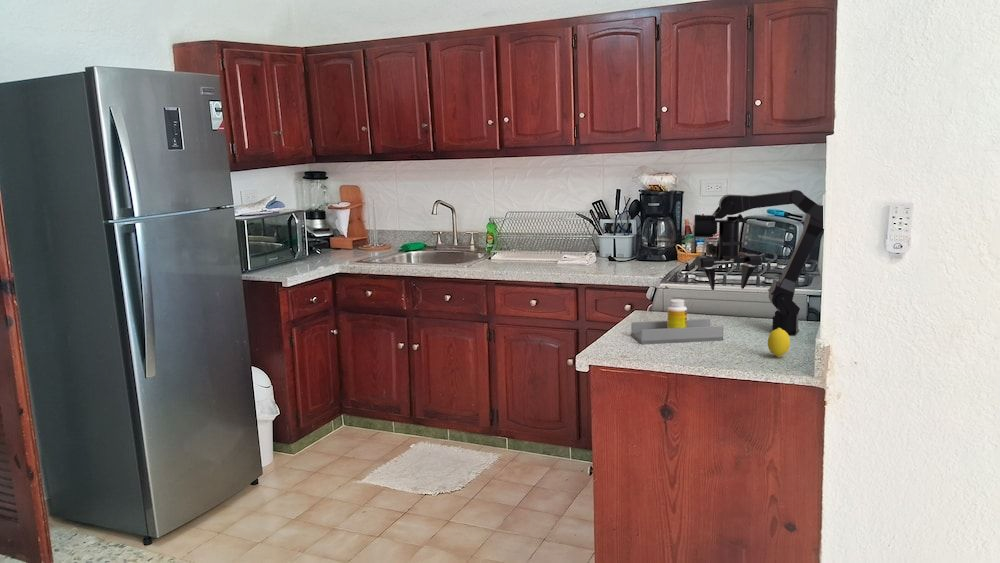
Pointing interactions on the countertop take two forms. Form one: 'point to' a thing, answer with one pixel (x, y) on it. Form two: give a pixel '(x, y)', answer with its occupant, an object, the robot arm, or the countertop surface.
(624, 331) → the countertop surface
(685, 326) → the supplement bottle
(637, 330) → the cable duct
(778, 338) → the lemon
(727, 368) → the countertop surface
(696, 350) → the countertop surface
